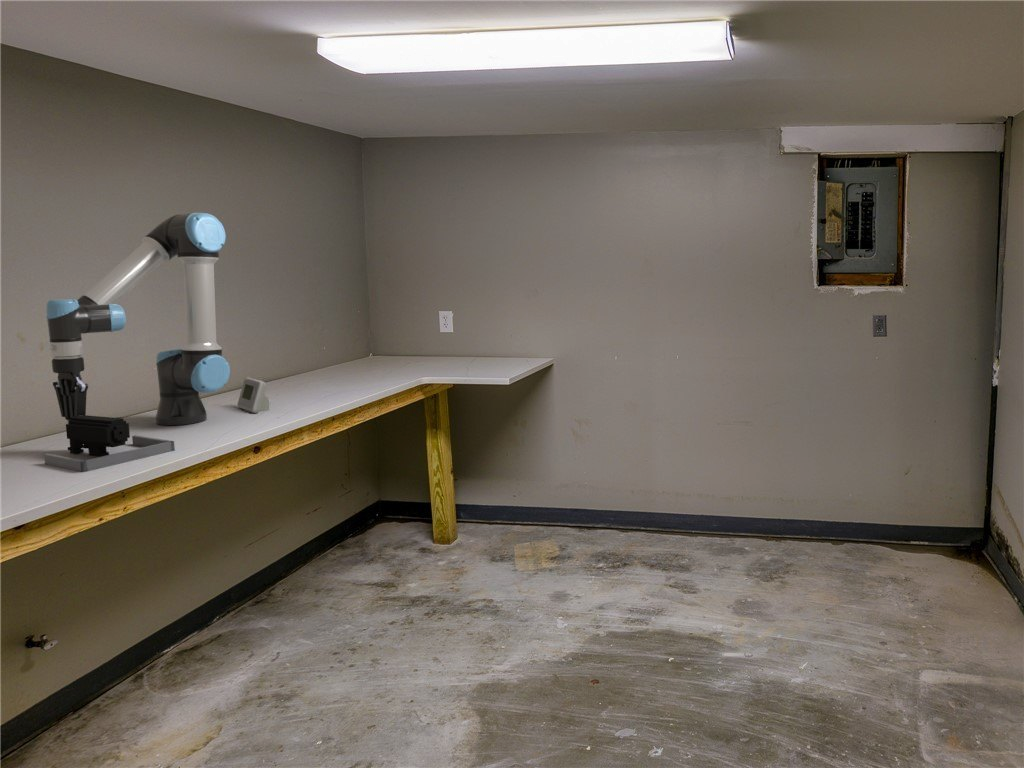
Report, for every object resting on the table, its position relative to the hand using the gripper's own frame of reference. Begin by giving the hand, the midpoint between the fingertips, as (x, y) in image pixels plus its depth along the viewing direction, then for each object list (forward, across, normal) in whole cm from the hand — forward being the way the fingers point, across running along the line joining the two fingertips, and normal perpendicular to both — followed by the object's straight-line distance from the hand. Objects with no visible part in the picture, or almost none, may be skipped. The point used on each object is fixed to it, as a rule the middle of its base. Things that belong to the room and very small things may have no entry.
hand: (76, 443), depth 219 cm
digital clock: (+2, -4, +64) cm, 64 cm away
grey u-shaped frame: (+2, +16, 0) cm, 16 cm away
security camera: (+2, +10, 0) cm, 10 cm away
